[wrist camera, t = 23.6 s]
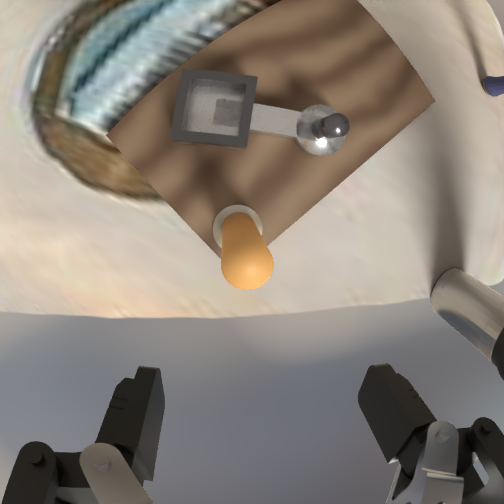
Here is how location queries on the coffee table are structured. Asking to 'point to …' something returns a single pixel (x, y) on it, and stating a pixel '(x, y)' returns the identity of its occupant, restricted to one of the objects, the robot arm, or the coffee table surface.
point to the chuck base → (282, 96)
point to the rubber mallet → (494, 85)
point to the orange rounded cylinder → (244, 253)
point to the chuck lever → (247, 115)
